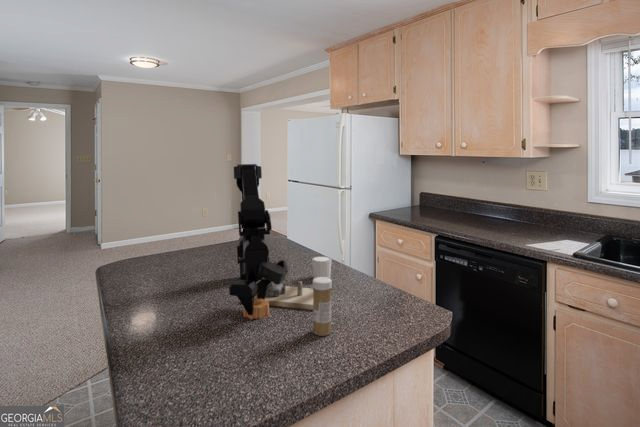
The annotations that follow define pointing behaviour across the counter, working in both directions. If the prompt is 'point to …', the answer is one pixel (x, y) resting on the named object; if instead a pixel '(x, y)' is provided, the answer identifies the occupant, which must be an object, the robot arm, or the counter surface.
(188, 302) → the counter surface
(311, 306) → the gear board
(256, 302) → the orange gear
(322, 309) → the sprinkles bottle
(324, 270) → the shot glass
